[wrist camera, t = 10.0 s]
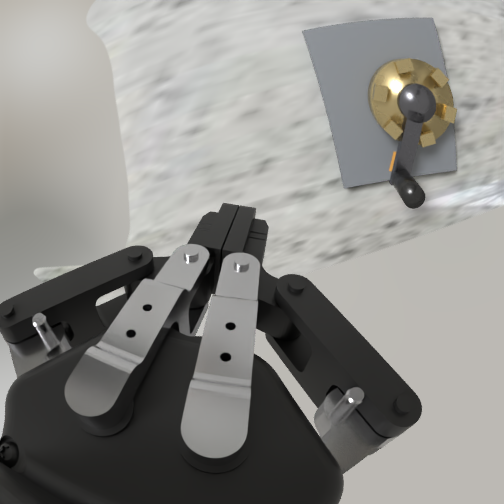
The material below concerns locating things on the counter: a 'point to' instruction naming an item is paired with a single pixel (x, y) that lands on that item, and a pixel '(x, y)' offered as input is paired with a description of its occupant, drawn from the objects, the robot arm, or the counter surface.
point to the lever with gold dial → (410, 115)
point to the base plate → (356, 93)
